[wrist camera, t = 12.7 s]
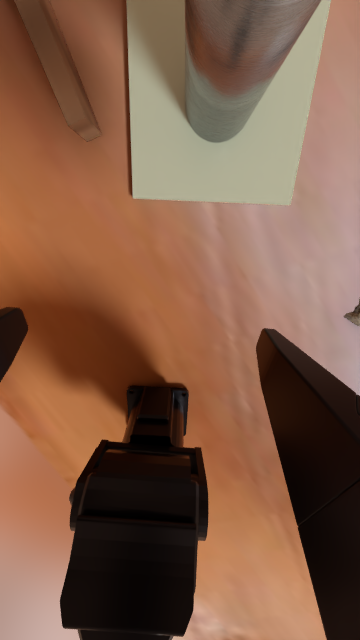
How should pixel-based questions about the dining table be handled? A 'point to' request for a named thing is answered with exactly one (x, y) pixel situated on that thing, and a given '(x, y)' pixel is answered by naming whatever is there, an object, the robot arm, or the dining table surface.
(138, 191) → the tile
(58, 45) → the cubby
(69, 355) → the dining table surface
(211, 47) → the canister
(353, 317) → the driftwood
